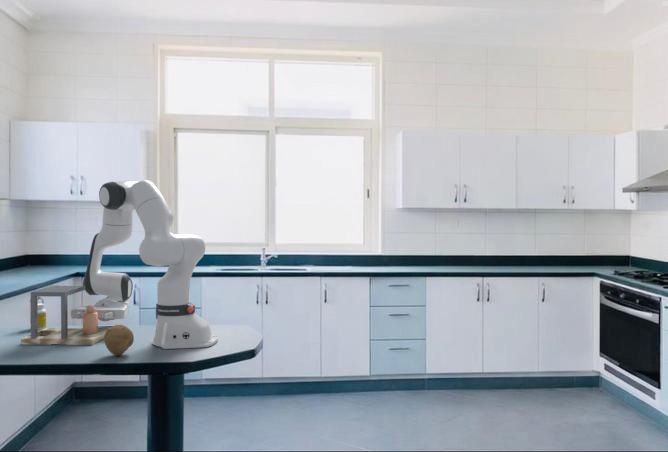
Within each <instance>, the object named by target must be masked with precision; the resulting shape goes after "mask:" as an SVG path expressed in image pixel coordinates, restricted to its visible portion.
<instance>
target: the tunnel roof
mask: <svg viewBox="0 0 668 452" xmlns="http://www.w3.org/2000/svg"><path fill="white" fill-rule="evenodd" d="M83 291H85V286H83V285H50V286H46V287H43V288H40V289H36V290H33V291H30V313H31V314H30V335H31V339H36V338H38V331H39V330H38V318H37V304H38V297H60V328H61V339H67V338H68V326H69V325H68V324H69V323H68V318H69V317H68V315H69V314H68V313H69V312H68V296H70V295H74V294H76V293H77V294H78V293H79V292H83Z"/></svg>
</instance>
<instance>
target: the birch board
mask: <svg viewBox="0 0 668 452" xmlns="http://www.w3.org/2000/svg"><path fill="white" fill-rule="evenodd" d="M108 329H109V328H98V333H96V334H91V335H85V334H83V327H82V328H81V327H80V328H75V327H74V328H72V327H71V328H70V327H69V328H68V338H67V339H61V327H59V328H58V327H57V328H56V327H53V328H51V327H50V328H49V327H46V328H45V329H41V330H38V338H36V339H31V334H29V335H26V336H24V337H22V338H20V345H34V346H35V345H42V346H43V345H44V346H45V345H47V346H49V345H50V346H51V344H66V345H67V346H69V345H70V346H71V345H73V346H74V345H75V346H80V345H81V346H83V345H84V346H93V345H96V344H97V343H98V342H100V341H102V340H104V335H105V333H106V331H107V330H108ZM66 345H65V346H66Z"/></svg>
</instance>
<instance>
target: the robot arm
mask: <svg viewBox="0 0 668 452" xmlns="http://www.w3.org/2000/svg"><path fill="white" fill-rule="evenodd" d="M98 197H99V202H100V204H101V205H102V207H103V213H102V224H101V225H102V226H101V229H100V231H99V232H98V233H95V235H94V237H93V239H92V242H91V246H90V250H89V256H88V261H87V266H86V270H85V274H84V277H83V281H82V286H85V290H84V291H85V292H86V294H88V295H89V296H106V297H104V298H102V299H99V300H98V301H97V302H96V303H95V305H94V311H96V312H98V321H102V322H109V321H114V320H123V319H128V318H129V315H130V314H129V313H130V309H129V308H130V305H131V297H132V295H133V285H134V284H133V281H132V279H131V277H130V276H129V274H127V273H125V272H124V273H123V272H116V271H115V272H112V271H111V272H110V271H102V270H101V264H102V260H103V254H104V252H105V250H106V249H108V248H110V247H114V246H118V245H121V244H123V243H125V242H126V241H128V240H129V239H130V238H131V236H132V232H133V211H135V212H136V214H137V217H138V218H139V220H140V223H141V224H142V227H143V231H144V239H142V241H141V243H140V245H139V248H138V253H139V258H140V260H141V261H142V262H143V264H145V265H148V266H153V267H165V266H168V268H167V270H166V272H165V274H164V275H163V276H162V277H160V279H159V280H158V281H157V285H156V286H157V291H156V293H157V295H156V297H157V302H156V305H155V306H156V307H155V319H156V325H155V330H154V336H153V339H152V345H153V346H156V347H160V348H161V349H163V350H173V349H192V348H193V349H195V348H208V347H211V346H214V345H215V344H216V343H217V342H218V337H217V336H216V334H212V329H211V325H210V323H209V322H208V321H207V320H205V319H204V318H203V317H201V316H200V315H199V314H197V313H196V303H194V304H193V303H192V302H191V301H190V293H191V291H190V289H191V280H192V279H191V278H192V276H193V272H194V270H195V268H196V266H197V264H198V263H199V261H200V260H201V259H202V258H203V257H204V255H205V253H206V244H205V241H204V239H203V238H202V237H201V236H199V235H196V234H191V233H177V234H176V233H175V234H174V233H173V232H172V231H171V230H170V227H172V225H173V223H174V221H175V219H174V214H173V212H172V211H171V208H170V207H169V204H168V203H167V201H166V199H165V197H164V196H163V194H162V193H161V191H160V190H159V188H158V187H157V186H156V185H155V183H153V182H152V181H150V180H147V179H143V180H119V181H108V182H105V183H104V184H102V185H101V187H100V189H99V191H98ZM87 306H88V305H82V306H76V307H73V308H71V309H70V318H71V319H76V320H81V319H83V313H84V312H87Z"/></svg>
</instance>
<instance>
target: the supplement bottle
mask: <svg viewBox="0 0 668 452" xmlns="http://www.w3.org/2000/svg"><path fill="white" fill-rule="evenodd" d="M29 315H31V312H30V314H29ZM37 318H38V331H40V330H43V329H44V328H47V309H46V308H45V303H40V302H39V303H38V302H37Z"/></svg>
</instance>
